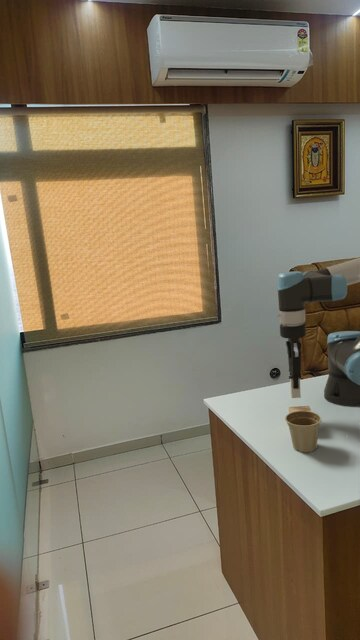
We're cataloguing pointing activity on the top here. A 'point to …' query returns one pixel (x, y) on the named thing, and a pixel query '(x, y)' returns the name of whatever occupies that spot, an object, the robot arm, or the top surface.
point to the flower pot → (303, 429)
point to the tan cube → (299, 408)
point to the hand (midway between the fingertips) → (295, 396)
